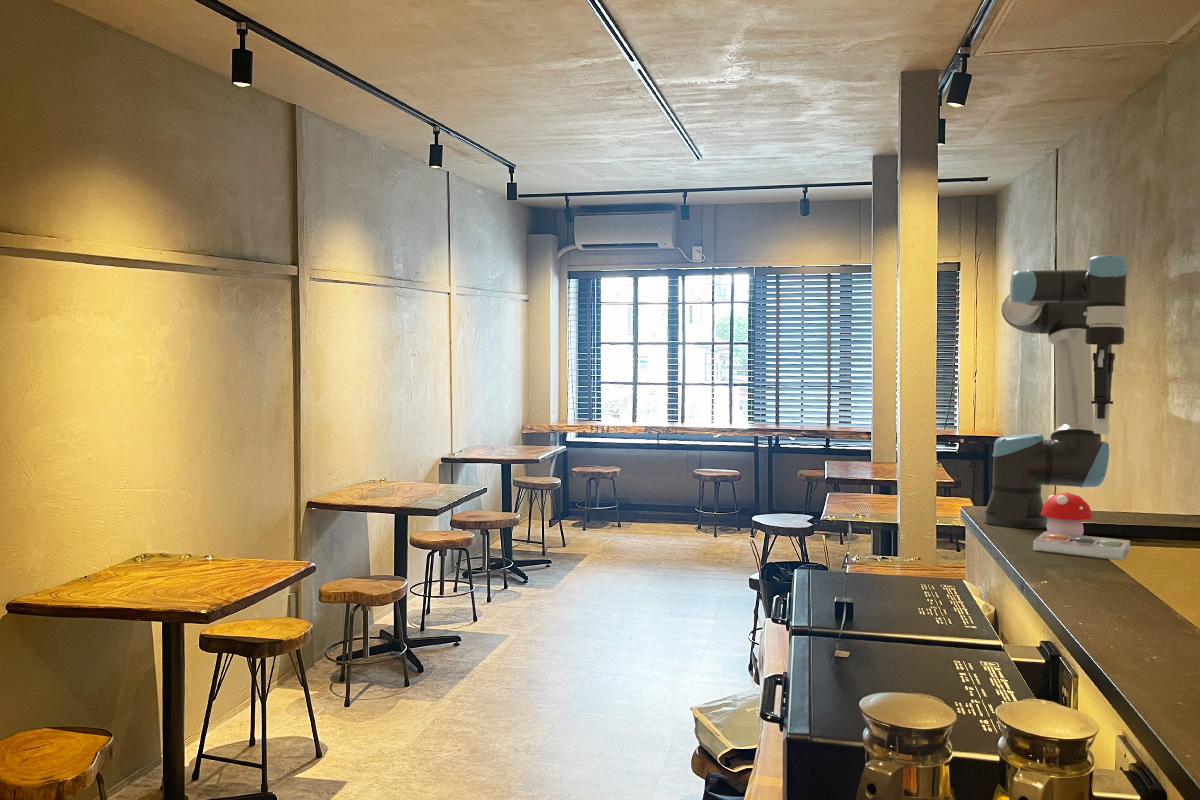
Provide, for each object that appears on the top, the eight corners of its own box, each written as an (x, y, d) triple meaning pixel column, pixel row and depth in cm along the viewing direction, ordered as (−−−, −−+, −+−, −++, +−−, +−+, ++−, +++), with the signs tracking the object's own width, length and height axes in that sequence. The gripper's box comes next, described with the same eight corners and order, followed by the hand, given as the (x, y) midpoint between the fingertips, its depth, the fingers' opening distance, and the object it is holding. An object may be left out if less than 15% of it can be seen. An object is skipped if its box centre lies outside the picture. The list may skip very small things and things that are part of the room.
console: (1044, 546, 212) (1044, 531, 212) (1129, 556, 203) (1130, 540, 202) (1032, 556, 201) (1033, 540, 201) (1122, 567, 191) (1123, 550, 191)
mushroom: (1056, 538, 224) (1058, 488, 223) (1101, 545, 214) (1103, 494, 214) (1030, 542, 218) (1032, 491, 217) (1076, 550, 209) (1078, 497, 208)
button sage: (1099, 548, 201) (1099, 538, 201) (1120, 551, 199) (1121, 540, 199) (1097, 551, 198) (1097, 541, 198) (1118, 554, 196) (1119, 543, 196)
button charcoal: (1072, 545, 204) (1073, 535, 204) (1093, 548, 202) (1093, 537, 202) (1070, 548, 201) (1070, 538, 201) (1090, 550, 199) (1091, 540, 199)
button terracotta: (1046, 542, 207) (1047, 532, 207) (1066, 545, 205) (1067, 535, 205) (1043, 545, 204) (1044, 535, 204) (1063, 547, 202) (1064, 537, 202)
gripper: (1089, 327, 213) (1086, 431, 214) (1081, 325, 202) (1077, 434, 203) (1127, 327, 208) (1123, 432, 209) (1121, 325, 198) (1117, 436, 199)
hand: (1101, 433), depth 206 cm, fingers closed
